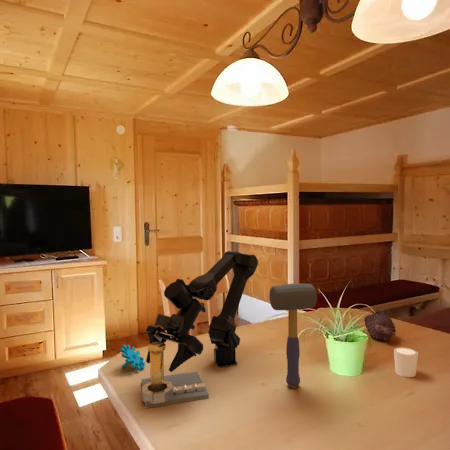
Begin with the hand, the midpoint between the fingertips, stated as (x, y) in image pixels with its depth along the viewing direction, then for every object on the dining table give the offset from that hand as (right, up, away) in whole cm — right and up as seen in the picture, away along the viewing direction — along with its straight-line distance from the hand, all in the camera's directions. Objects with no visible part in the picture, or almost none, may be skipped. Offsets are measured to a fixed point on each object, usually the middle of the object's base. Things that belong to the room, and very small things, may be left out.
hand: (158, 366), depth 102 cm
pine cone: (+79, -6, +45) cm, 91 cm away
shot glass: (+74, -8, +14) cm, 76 cm away
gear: (-12, -8, +21) cm, 25 cm away
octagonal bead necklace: (+3, -8, +5) cm, 10 cm away
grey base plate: (+3, -9, +5) cm, 11 cm away
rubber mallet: (+38, -8, +7) cm, 39 cm away
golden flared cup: (0, -8, 0) cm, 8 cm away
